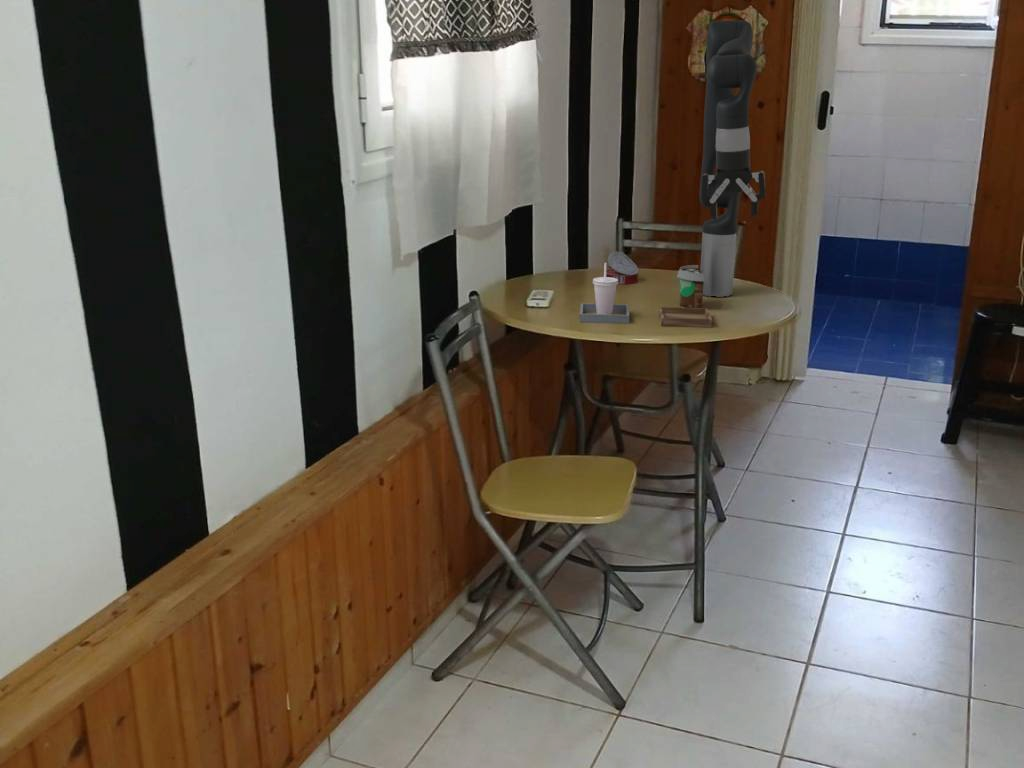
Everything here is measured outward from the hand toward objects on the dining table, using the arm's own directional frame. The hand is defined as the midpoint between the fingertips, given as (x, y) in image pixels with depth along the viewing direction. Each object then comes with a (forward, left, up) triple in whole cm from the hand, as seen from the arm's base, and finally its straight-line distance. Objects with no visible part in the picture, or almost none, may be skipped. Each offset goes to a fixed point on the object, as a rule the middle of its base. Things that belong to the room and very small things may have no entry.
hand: (734, 217), depth 241 cm
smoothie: (-14, -29, -28) cm, 42 cm away
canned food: (-60, -24, -28) cm, 70 cm away
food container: (-29, -7, -28) cm, 40 cm away
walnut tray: (-12, -9, -28) cm, 31 cm away
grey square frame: (-14, -29, -28) cm, 42 cm away
